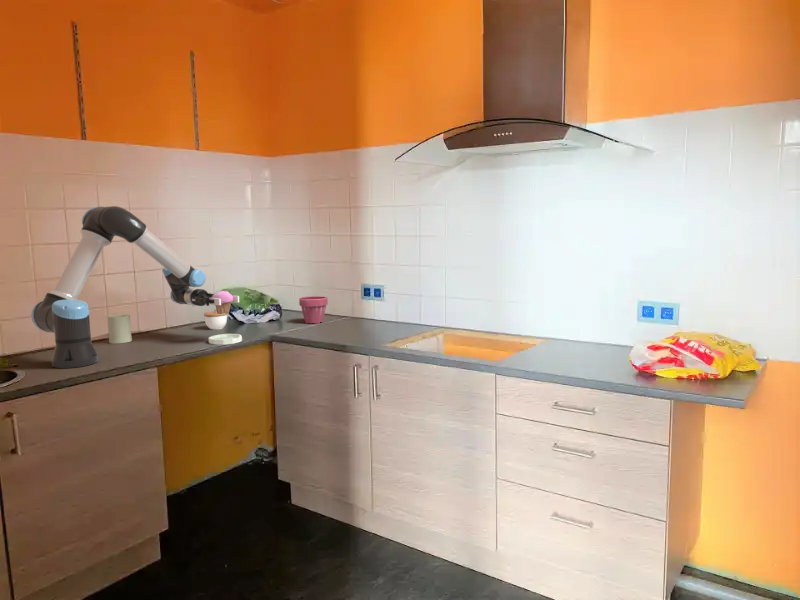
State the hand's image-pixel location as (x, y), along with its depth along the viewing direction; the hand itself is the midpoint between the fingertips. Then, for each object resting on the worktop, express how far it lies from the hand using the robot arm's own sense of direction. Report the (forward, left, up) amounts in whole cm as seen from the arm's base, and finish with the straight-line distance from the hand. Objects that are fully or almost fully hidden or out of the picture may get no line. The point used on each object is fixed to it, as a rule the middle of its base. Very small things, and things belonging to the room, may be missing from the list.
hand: (229, 300), depth 255 cm
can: (-25, +44, -18) cm, 54 cm away
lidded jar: (+18, +34, -18) cm, 43 cm away
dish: (0, +4, -18) cm, 19 cm away
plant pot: (+56, +5, -18) cm, 59 cm away
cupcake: (0, +5, -6) cm, 8 cm away
